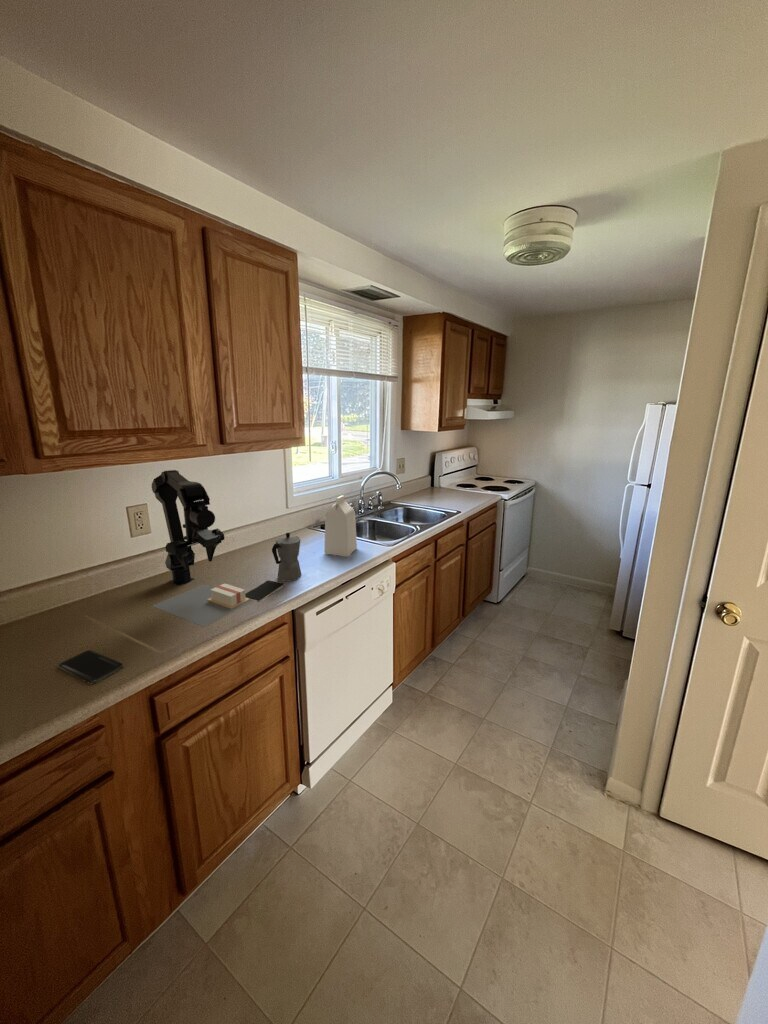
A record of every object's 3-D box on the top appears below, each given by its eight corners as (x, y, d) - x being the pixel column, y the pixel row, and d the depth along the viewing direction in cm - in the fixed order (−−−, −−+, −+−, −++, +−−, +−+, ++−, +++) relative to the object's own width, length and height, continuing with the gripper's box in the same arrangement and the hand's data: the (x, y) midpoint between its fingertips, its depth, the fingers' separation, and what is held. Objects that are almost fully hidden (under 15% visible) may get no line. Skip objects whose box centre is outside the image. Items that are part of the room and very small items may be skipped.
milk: (347, 556, 185) (347, 500, 178) (324, 554, 188) (323, 498, 181) (357, 548, 196) (357, 495, 190) (334, 545, 199) (333, 493, 193)
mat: (151, 607, 136) (151, 604, 136) (204, 585, 153) (203, 583, 153) (204, 628, 124) (203, 626, 123) (254, 602, 140) (254, 600, 140)
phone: (92, 682, 98) (56, 664, 104) (93, 686, 98) (57, 668, 104) (125, 664, 105) (90, 648, 111) (125, 668, 105) (90, 652, 111)
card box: (245, 599, 141) (245, 589, 140) (231, 606, 136) (230, 596, 135) (225, 592, 146) (224, 583, 145) (211, 599, 140) (210, 589, 140)
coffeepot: (291, 568, 170) (289, 526, 166) (309, 573, 166) (308, 530, 162) (264, 582, 157) (262, 537, 152) (284, 587, 153) (281, 541, 148)
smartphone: (240, 596, 143) (267, 580, 157) (240, 599, 144) (267, 582, 157) (259, 600, 141) (285, 583, 154) (259, 603, 141) (285, 586, 154)
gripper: (184, 532, 125) (189, 580, 128) (233, 518, 140) (237, 561, 144) (161, 526, 130) (167, 572, 134) (211, 514, 146) (215, 555, 149)
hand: (198, 565), depth 140 cm, fingers open, 9 cm apart
